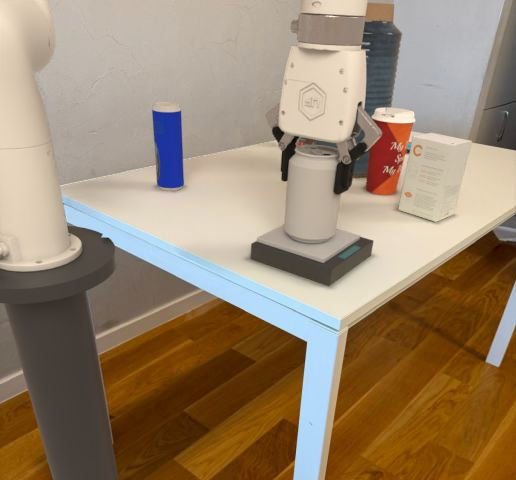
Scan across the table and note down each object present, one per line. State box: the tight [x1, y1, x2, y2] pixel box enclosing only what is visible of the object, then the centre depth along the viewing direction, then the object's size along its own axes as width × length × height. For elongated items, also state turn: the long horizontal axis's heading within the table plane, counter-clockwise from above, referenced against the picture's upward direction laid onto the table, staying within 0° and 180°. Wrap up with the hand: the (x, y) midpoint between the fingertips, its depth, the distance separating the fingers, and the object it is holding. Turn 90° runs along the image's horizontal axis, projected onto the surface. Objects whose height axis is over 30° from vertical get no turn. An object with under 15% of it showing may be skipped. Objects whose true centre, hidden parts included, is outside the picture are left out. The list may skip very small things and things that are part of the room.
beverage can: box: [151, 101, 185, 192], centre depth 94 cm, size 5×5×15 cm
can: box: [283, 145, 342, 243], centre depth 69 cm, size 8×8×12 cm
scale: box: [250, 224, 374, 287], centre depth 73 cm, size 13×13×3 cm
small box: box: [398, 132, 473, 223], centre depth 89 cm, size 8×6×13 cm
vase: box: [314, 2, 403, 178], centre depth 107 cm, size 16×16×32 cm
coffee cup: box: [365, 107, 416, 196], centre depth 99 cm, size 8×8×15 cm
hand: (314, 184), depth 69 cm, fingers closed on can, 7 cm apart
